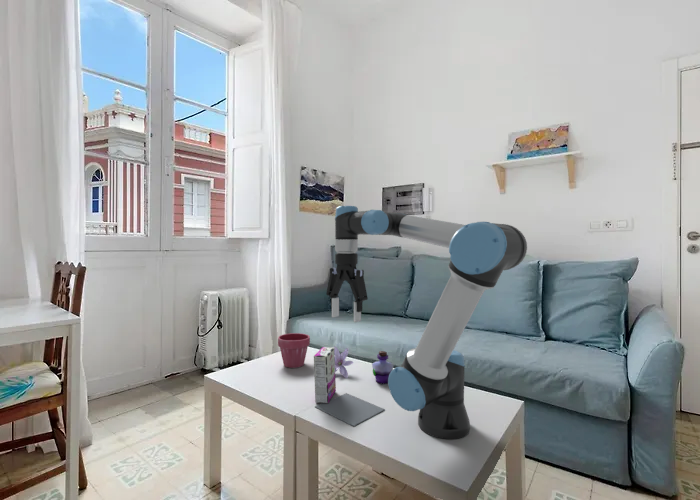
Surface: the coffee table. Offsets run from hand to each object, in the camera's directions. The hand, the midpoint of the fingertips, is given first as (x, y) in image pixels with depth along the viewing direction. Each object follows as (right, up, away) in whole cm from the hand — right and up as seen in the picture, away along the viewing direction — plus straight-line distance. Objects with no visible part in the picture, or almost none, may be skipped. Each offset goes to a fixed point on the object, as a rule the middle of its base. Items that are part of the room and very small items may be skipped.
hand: (345, 319), depth 120 cm
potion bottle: (+14, -30, +23) cm, 40 cm away
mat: (+1, -30, -1) cm, 30 cm away
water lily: (-4, -29, +31) cm, 43 cm away
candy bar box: (-7, -30, +8) cm, 31 cm away
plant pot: (-24, -29, +42) cm, 56 cm away
